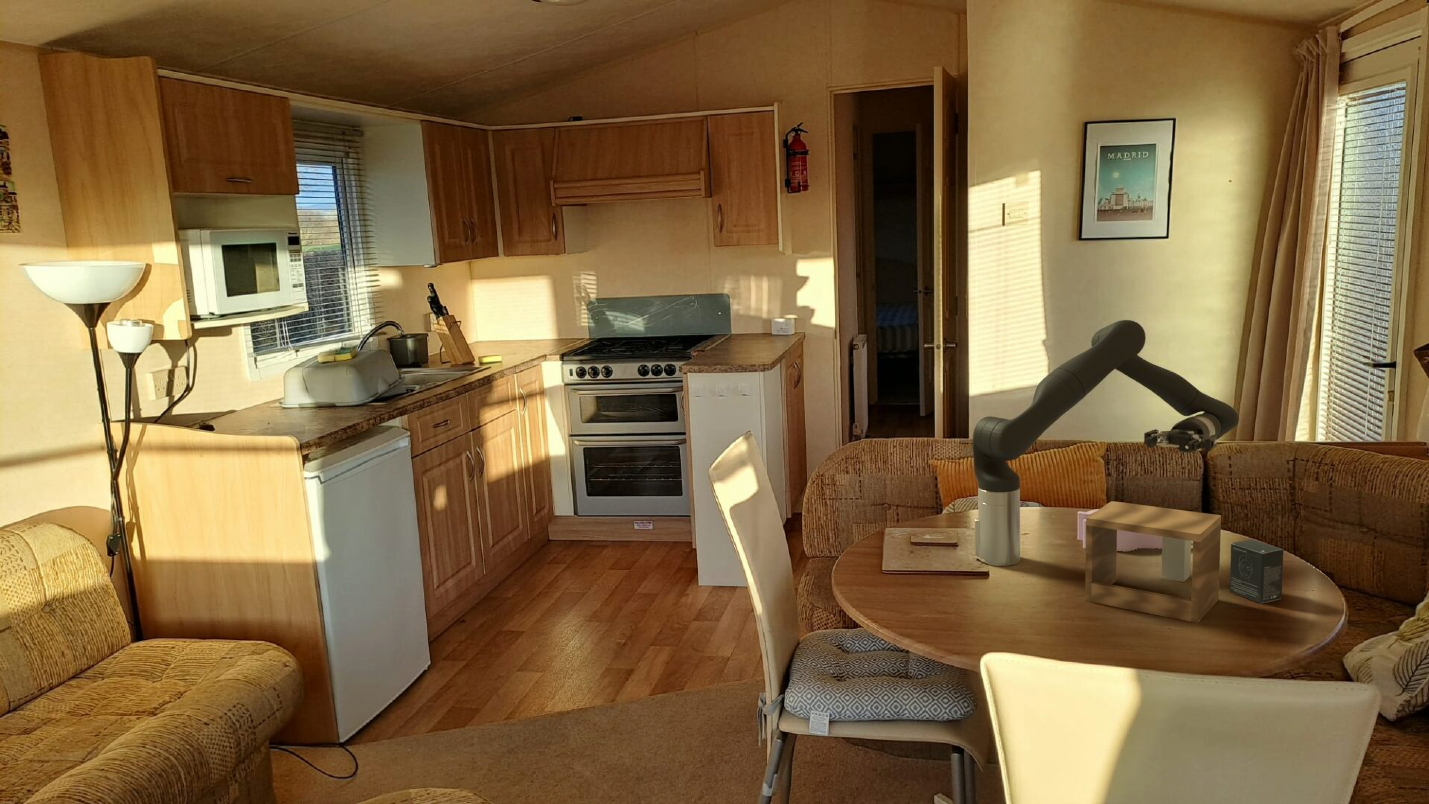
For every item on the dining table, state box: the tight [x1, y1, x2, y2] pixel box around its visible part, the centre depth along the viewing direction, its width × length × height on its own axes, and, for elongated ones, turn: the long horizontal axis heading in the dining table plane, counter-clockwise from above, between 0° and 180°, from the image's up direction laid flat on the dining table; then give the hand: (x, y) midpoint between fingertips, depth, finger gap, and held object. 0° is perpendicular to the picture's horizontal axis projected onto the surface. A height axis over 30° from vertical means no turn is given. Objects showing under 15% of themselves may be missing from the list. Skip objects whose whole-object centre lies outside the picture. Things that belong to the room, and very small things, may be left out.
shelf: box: [1084, 500, 1222, 624], centre depth 204 cm, size 21×14×18 cm
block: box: [1161, 537, 1192, 583], centre depth 216 cm, size 4×4×12 cm
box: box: [1229, 539, 1284, 604], centre depth 204 cm, size 8×6×11 cm
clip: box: [1077, 508, 1162, 552], centre depth 240 cm, size 20×12×7 cm, turn 81°
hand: (1169, 445), depth 222 cm, fingers open, 8 cm apart
